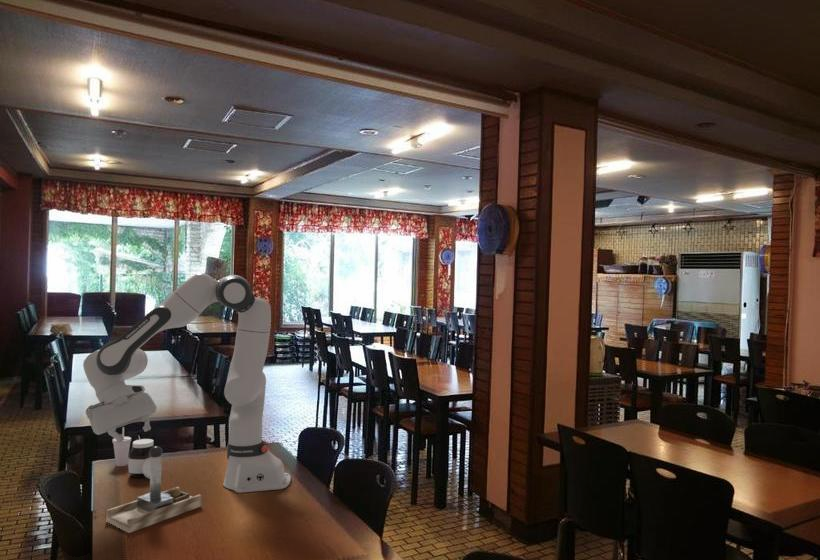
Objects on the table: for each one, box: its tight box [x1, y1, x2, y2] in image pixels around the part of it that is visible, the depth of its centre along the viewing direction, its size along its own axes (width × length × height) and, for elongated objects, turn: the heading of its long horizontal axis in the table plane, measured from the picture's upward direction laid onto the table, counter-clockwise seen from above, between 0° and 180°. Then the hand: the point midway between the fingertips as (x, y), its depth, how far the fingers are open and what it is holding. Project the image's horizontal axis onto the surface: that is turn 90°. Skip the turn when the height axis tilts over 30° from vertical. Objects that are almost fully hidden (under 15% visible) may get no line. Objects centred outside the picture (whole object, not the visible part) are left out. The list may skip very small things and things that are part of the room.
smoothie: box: [112, 426, 132, 467], centre depth 216 cm, size 6×6×14 cm
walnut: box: [167, 487, 181, 501], centre depth 178 cm, size 4×4×4 cm
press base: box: [105, 486, 202, 534], centre depth 173 cm, size 23×12×4 cm, turn 146°
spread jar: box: [127, 438, 163, 480], centre depth 206 cm, size 12×11×12 cm
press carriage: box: [136, 445, 173, 512], centre depth 173 cm, size 7×9×18 cm
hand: (134, 435), depth 181 cm, fingers open, 8 cm apart
